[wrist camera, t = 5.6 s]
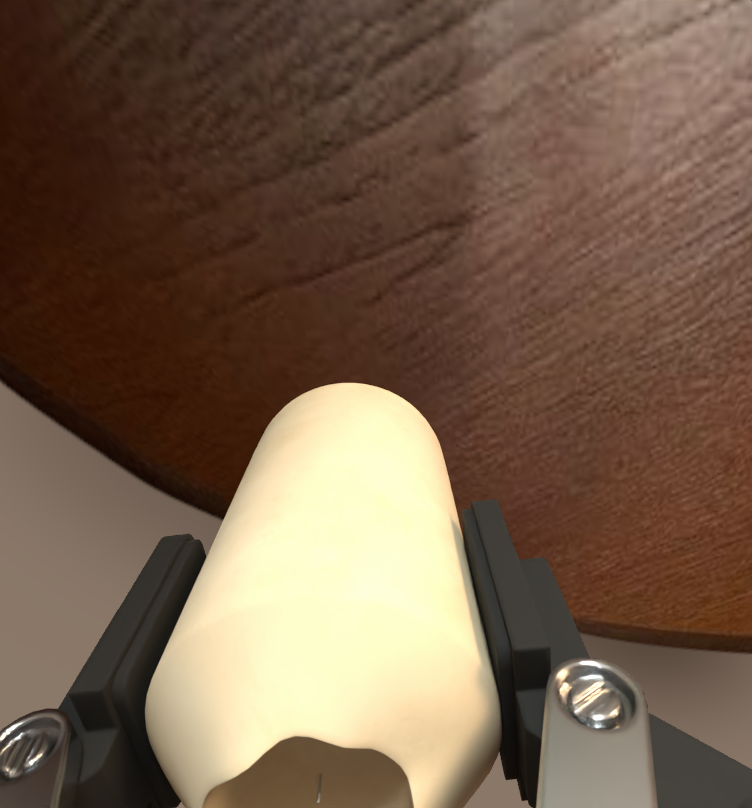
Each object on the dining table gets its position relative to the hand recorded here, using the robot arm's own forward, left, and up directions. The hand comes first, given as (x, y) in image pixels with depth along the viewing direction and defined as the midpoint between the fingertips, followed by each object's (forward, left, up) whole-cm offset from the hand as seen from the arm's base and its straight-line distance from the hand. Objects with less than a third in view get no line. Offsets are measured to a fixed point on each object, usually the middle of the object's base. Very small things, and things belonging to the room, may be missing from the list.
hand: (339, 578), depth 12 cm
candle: (0, 0, -5) cm, 5 cm away
